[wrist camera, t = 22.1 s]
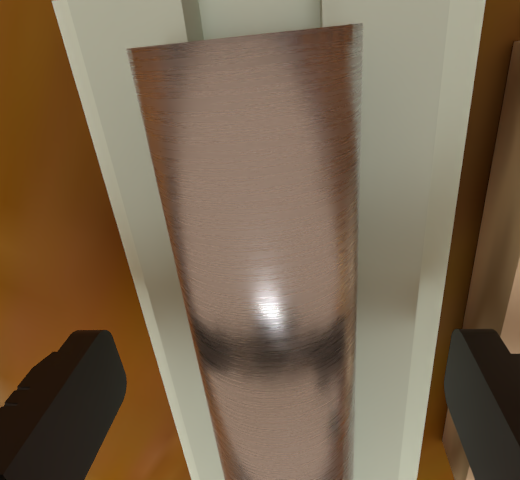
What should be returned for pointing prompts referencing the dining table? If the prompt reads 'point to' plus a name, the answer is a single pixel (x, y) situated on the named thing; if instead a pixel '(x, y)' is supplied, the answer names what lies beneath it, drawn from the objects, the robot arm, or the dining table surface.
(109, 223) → the dining table surface
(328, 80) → the axle
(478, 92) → the dining table surface
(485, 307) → the wooden blocks
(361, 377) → the grooved block
